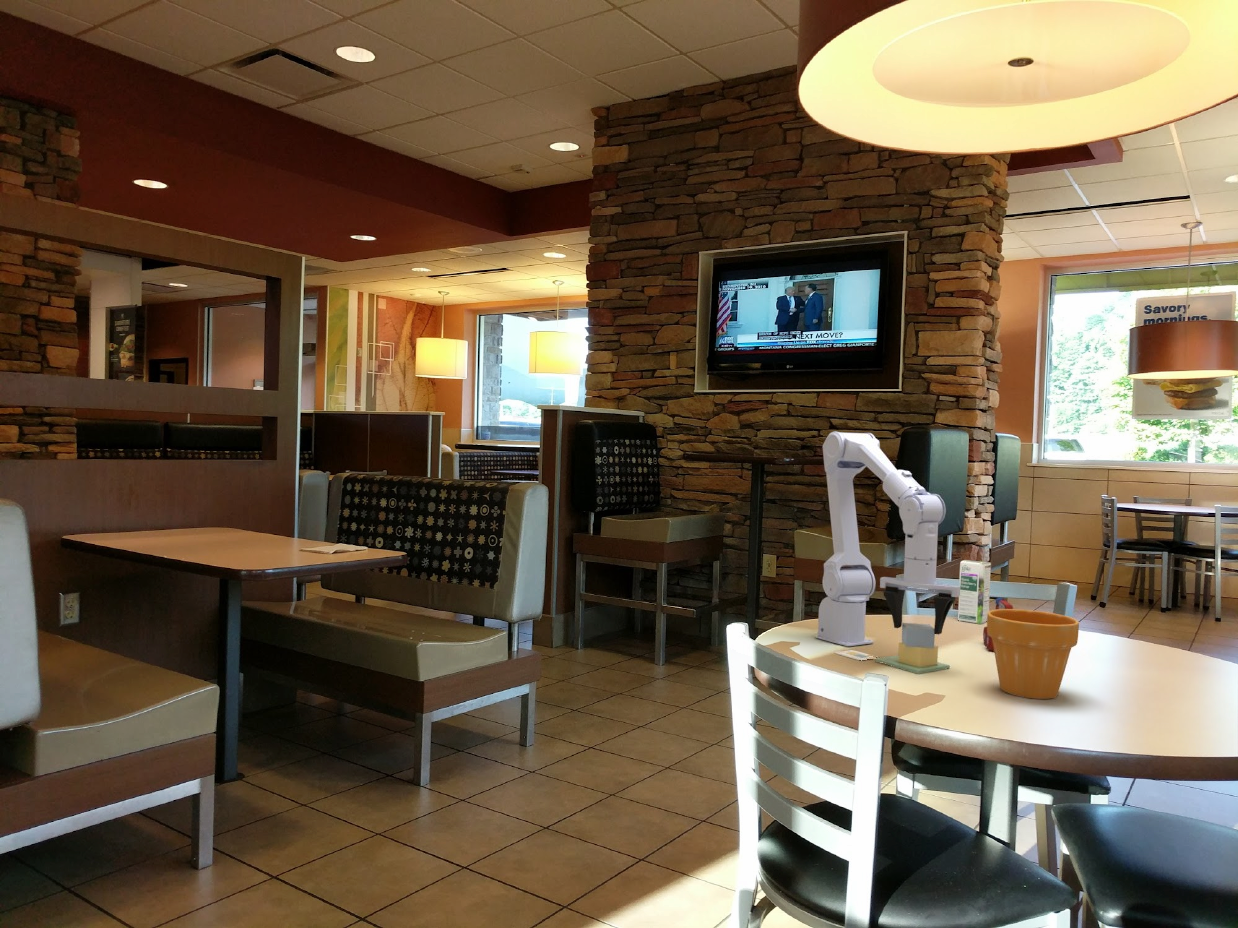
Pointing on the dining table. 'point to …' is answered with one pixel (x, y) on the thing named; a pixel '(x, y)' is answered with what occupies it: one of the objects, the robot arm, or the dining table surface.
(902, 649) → the brick
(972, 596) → the syrup box
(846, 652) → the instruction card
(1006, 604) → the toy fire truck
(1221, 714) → the dining table surface
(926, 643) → the brick
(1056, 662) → the flower pot
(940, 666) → the plate
